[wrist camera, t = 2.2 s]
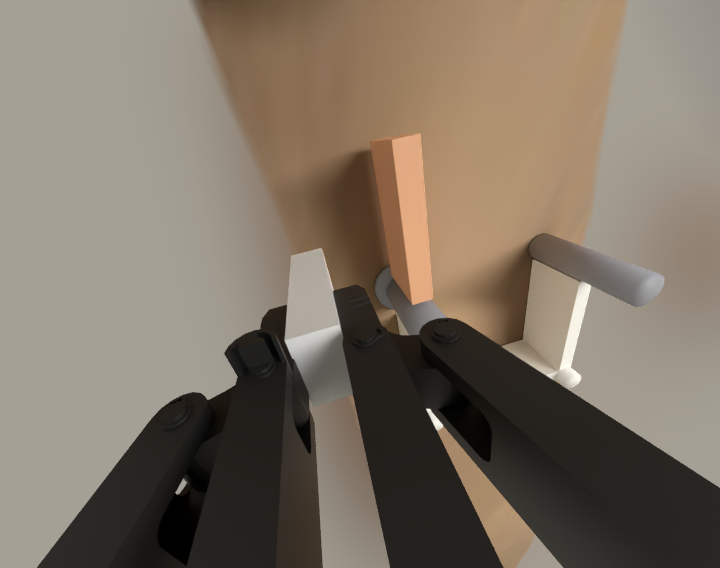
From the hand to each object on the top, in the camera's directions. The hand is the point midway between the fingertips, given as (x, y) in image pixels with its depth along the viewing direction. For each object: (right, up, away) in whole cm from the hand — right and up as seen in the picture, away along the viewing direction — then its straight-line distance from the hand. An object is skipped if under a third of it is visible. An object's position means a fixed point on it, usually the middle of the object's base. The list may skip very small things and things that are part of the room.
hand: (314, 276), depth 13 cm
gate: (+5, +4, +8) cm, 10 cm away
